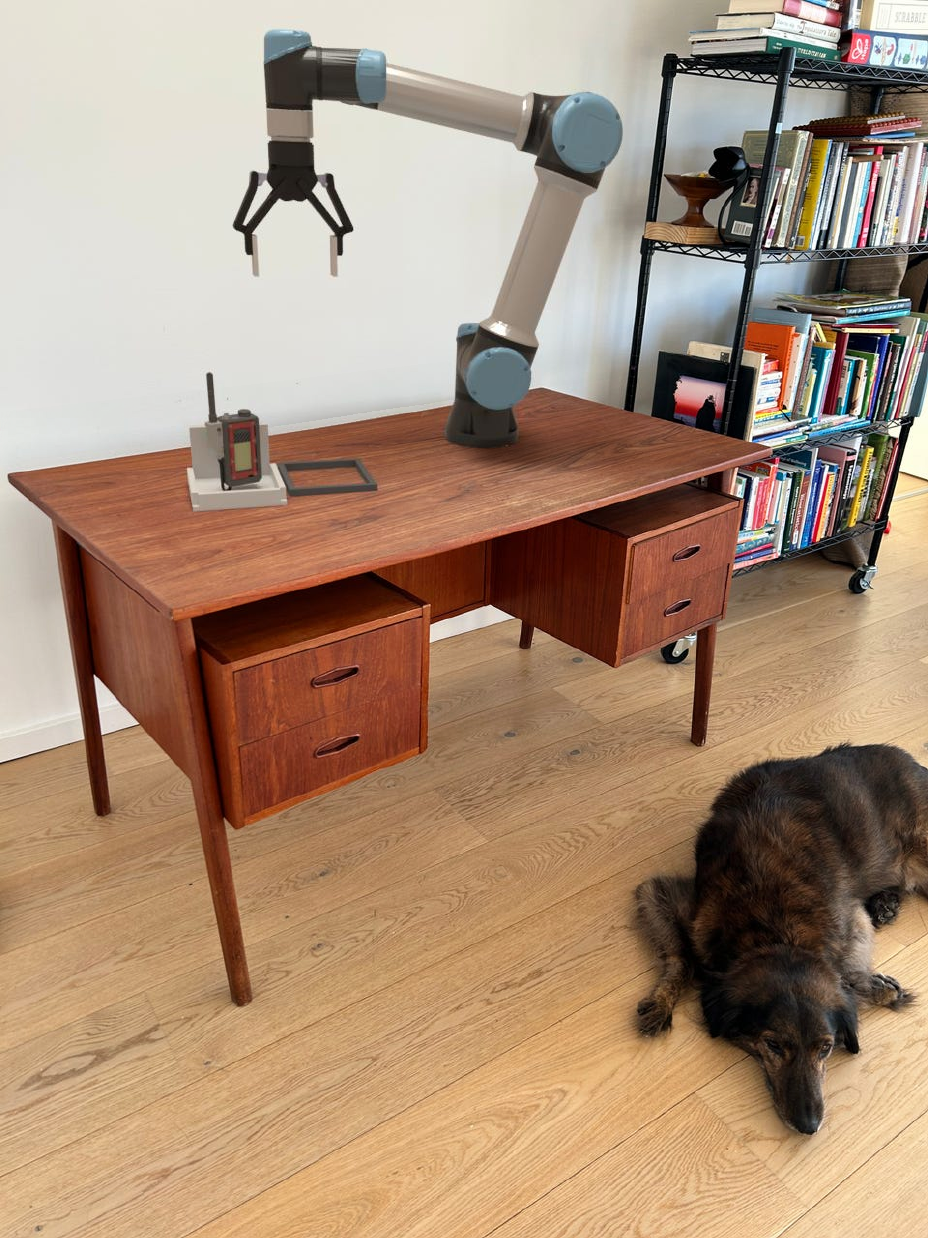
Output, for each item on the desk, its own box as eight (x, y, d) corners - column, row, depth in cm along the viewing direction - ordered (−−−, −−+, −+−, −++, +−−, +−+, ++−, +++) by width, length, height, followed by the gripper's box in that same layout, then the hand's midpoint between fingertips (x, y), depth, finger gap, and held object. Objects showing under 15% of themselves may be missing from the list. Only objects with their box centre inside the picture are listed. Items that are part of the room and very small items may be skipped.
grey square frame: (359, 466, 180) (359, 458, 179) (377, 492, 167) (377, 484, 166) (277, 470, 175) (277, 462, 175) (290, 498, 163) (289, 489, 162)
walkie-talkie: (215, 497, 158) (206, 374, 150) (204, 489, 162) (194, 368, 153) (264, 488, 163) (258, 369, 154) (252, 480, 166) (245, 363, 157)
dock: (275, 477, 172) (272, 422, 167) (287, 506, 159) (285, 447, 154) (188, 482, 167) (182, 426, 163) (193, 512, 155) (188, 452, 150)
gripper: (360, 142, 166) (361, 272, 175) (210, 135, 158) (220, 272, 168) (369, 143, 159) (370, 278, 169) (214, 136, 152) (224, 278, 162)
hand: (295, 275), depth 168 cm, fingers open, 13 cm apart
